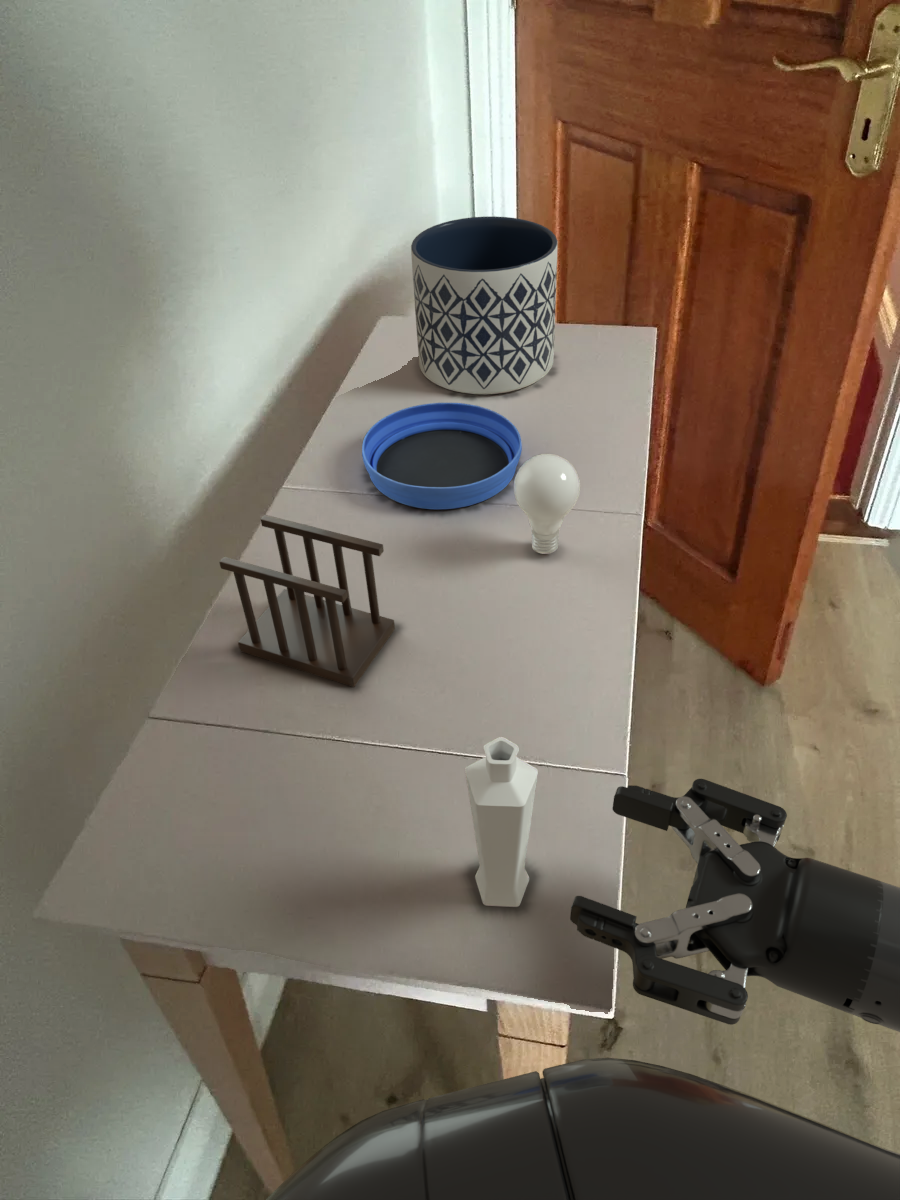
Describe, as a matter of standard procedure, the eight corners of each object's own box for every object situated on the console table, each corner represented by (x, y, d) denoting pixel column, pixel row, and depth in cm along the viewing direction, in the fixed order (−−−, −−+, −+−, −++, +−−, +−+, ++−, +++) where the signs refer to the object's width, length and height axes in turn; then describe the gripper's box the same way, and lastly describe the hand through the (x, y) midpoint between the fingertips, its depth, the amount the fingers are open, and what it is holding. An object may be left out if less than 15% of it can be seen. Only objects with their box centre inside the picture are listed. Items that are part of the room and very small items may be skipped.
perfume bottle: (455, 889, 65) (446, 757, 55) (493, 847, 67) (491, 713, 57) (507, 927, 62) (507, 796, 52) (544, 882, 65) (551, 749, 55)
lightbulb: (541, 524, 96) (543, 433, 89) (588, 549, 93) (595, 457, 85) (500, 552, 93) (499, 461, 86) (548, 579, 89) (551, 486, 82)
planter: (440, 408, 115) (433, 281, 104) (404, 347, 128) (394, 228, 117) (574, 383, 118) (581, 257, 107) (526, 325, 131) (527, 208, 121)
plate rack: (395, 628, 85) (385, 541, 78) (354, 687, 80) (339, 599, 73) (286, 597, 89) (267, 511, 82) (240, 651, 84) (215, 564, 77)
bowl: (373, 525, 97) (369, 498, 95) (357, 437, 111) (354, 411, 108) (537, 502, 99) (538, 475, 97) (503, 419, 112) (503, 393, 110)
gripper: (899, 811, 54) (631, 730, 59) (875, 1037, 44) (558, 917, 50) (865, 880, 59) (621, 799, 64) (837, 1096, 49) (553, 981, 55)
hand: (594, 851), depth 57 cm, fingers open, 8 cm apart
